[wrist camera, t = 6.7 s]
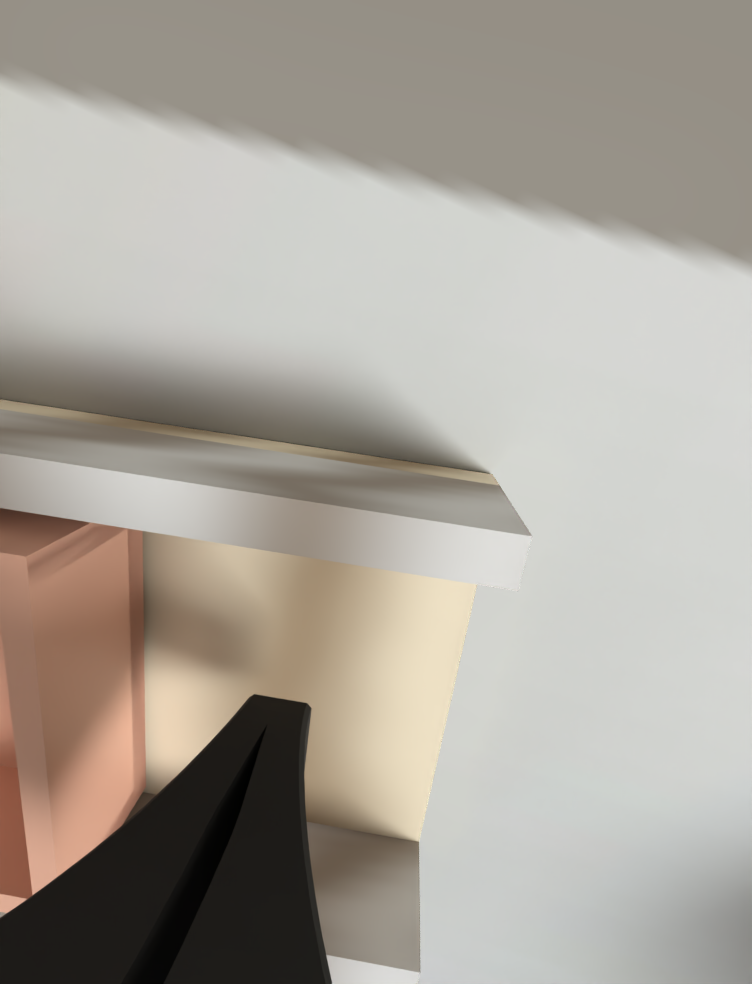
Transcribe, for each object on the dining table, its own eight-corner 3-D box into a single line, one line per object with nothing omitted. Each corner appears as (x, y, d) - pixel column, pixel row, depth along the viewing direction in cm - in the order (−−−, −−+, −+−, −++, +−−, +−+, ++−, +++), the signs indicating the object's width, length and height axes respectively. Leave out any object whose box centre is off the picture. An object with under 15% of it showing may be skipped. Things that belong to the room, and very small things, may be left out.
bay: (492, 474, 11) (532, 536, 7) (413, 833, 15) (413, 999, 11) (-279, 357, 12) (-603, 359, 8) (-178, 726, 16) (-371, 848, 12)
